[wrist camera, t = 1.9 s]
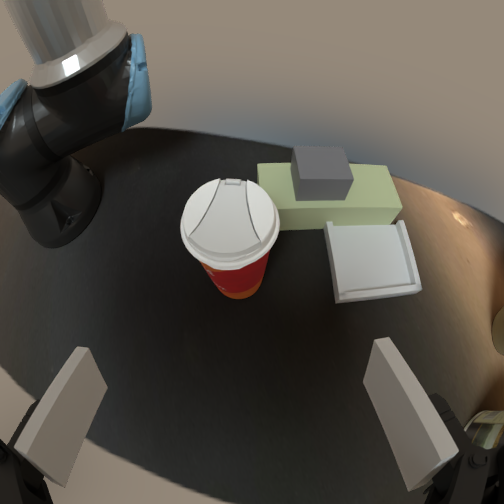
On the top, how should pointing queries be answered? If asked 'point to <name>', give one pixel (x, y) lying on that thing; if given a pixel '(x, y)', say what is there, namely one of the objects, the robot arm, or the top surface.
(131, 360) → the top surface
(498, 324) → the plant pot
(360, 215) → the green block with cube
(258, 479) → the top surface
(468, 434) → the coffee can
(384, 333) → the top surface
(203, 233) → the paper cup
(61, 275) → the top surface
